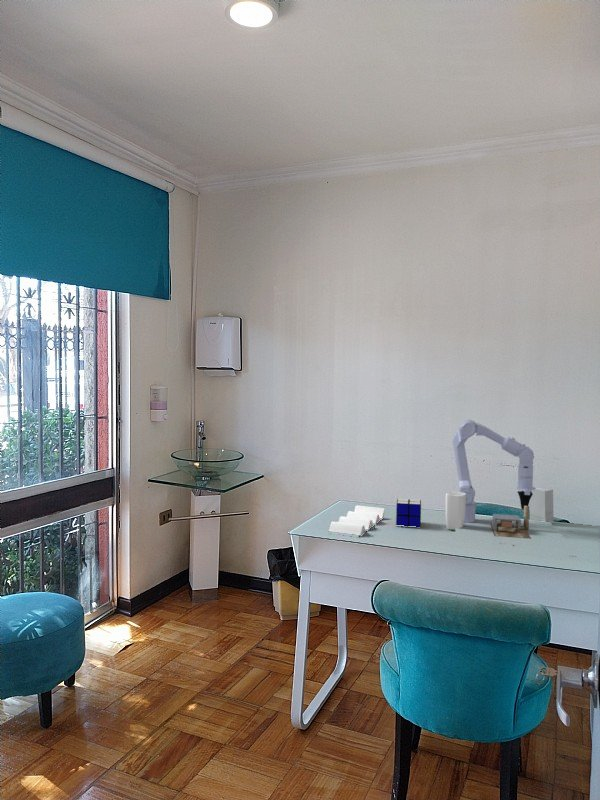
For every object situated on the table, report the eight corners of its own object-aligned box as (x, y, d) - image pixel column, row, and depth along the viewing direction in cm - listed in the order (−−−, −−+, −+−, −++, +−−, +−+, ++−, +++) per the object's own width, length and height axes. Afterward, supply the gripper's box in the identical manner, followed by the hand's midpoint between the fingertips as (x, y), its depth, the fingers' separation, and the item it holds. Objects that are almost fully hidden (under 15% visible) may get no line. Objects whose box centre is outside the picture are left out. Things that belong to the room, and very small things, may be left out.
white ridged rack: (327, 535, 247) (327, 522, 247) (355, 516, 279) (355, 505, 279) (359, 539, 242) (359, 526, 242) (384, 519, 274) (384, 508, 274)
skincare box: (553, 523, 270) (554, 489, 269) (544, 525, 267) (546, 490, 266) (536, 519, 277) (538, 486, 276) (528, 521, 274) (529, 487, 273)
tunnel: (494, 531, 249) (494, 518, 249) (492, 526, 257) (492, 513, 257) (520, 533, 247) (520, 520, 247) (517, 528, 255) (518, 515, 255)
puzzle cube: (395, 526, 260) (396, 503, 260) (396, 521, 270) (397, 498, 269) (420, 528, 258) (421, 504, 258) (420, 522, 268) (420, 499, 268)
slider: (498, 530, 249) (499, 507, 249) (496, 526, 257) (497, 503, 256) (530, 532, 247) (531, 509, 246) (528, 528, 254) (529, 505, 253)
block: (501, 530, 250) (501, 520, 250) (500, 528, 254) (500, 518, 254) (511, 531, 250) (512, 521, 249) (510, 529, 253) (511, 519, 253)
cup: (443, 530, 256) (444, 494, 255) (448, 526, 262) (449, 491, 261) (461, 532, 252) (462, 496, 252) (465, 528, 259) (466, 493, 258)
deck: (494, 539, 242) (494, 535, 242) (489, 527, 262) (490, 523, 262) (530, 542, 240) (531, 538, 240) (523, 529, 259) (523, 525, 259)
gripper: (538, 480, 251) (537, 513, 251) (533, 474, 265) (531, 505, 265) (520, 479, 252) (518, 512, 253) (515, 473, 266) (514, 504, 267)
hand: (524, 509), depth 259 cm, fingers closed
